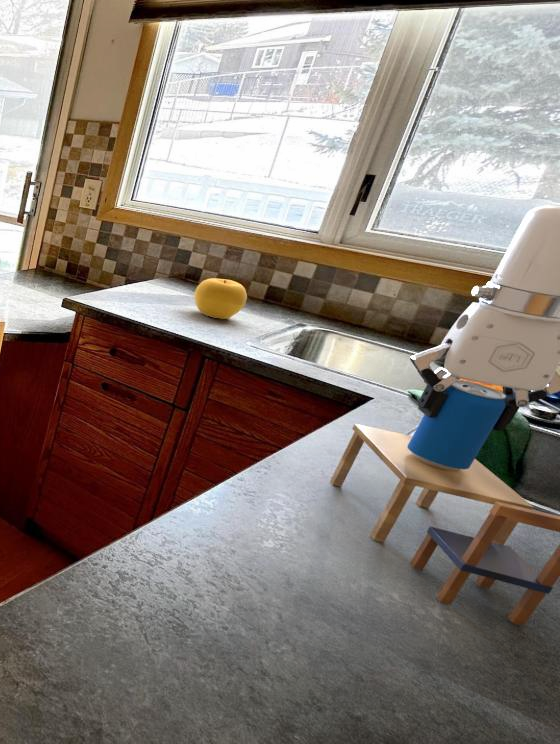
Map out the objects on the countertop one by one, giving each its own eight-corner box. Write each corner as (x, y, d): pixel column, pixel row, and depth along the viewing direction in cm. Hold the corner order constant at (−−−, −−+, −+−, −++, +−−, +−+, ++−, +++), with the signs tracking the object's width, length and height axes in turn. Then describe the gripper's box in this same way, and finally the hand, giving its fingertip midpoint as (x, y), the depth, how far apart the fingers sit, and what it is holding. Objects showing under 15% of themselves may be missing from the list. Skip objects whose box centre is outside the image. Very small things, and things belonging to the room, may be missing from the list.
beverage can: (464, 462, 90) (506, 390, 85) (469, 479, 85) (514, 404, 81) (403, 443, 94) (441, 373, 89) (405, 459, 89) (445, 386, 85)
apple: (179, 310, 189) (191, 275, 185) (203, 306, 195) (215, 272, 190) (224, 325, 178) (238, 288, 174) (247, 321, 184) (261, 285, 180)
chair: (485, 583, 81) (546, 490, 76) (525, 627, 75) (596, 528, 69) (408, 562, 84) (461, 471, 79) (439, 602, 77) (501, 505, 72)
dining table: (426, 504, 99) (460, 446, 95) (491, 572, 84) (534, 507, 80) (326, 479, 103) (354, 423, 99) (371, 540, 89) (406, 477, 85)
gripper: (454, 296, 80) (393, 415, 87) (642, 324, 74) (561, 449, 81) (424, 282, 87) (369, 394, 93) (595, 307, 81) (523, 424, 87)
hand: (459, 419), depth 87 cm, fingers closed on beverage can, 6 cm apart
